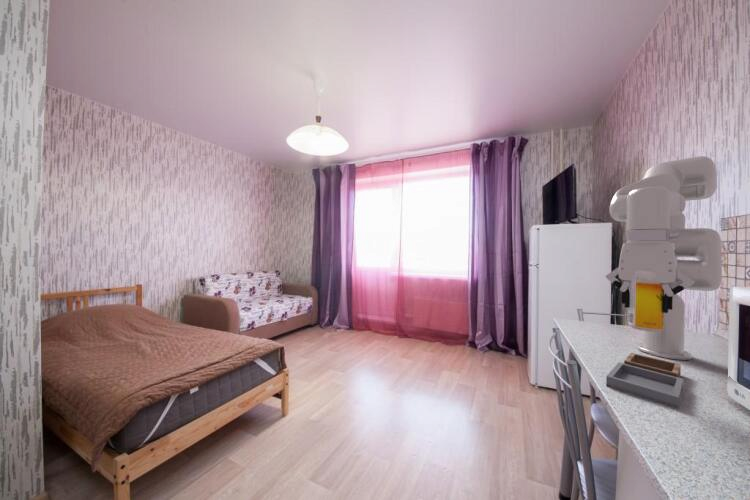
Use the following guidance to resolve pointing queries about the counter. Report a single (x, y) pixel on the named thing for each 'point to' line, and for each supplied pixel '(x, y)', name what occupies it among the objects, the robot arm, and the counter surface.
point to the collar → (654, 364)
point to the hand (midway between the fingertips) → (645, 308)
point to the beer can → (646, 302)
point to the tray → (646, 384)
